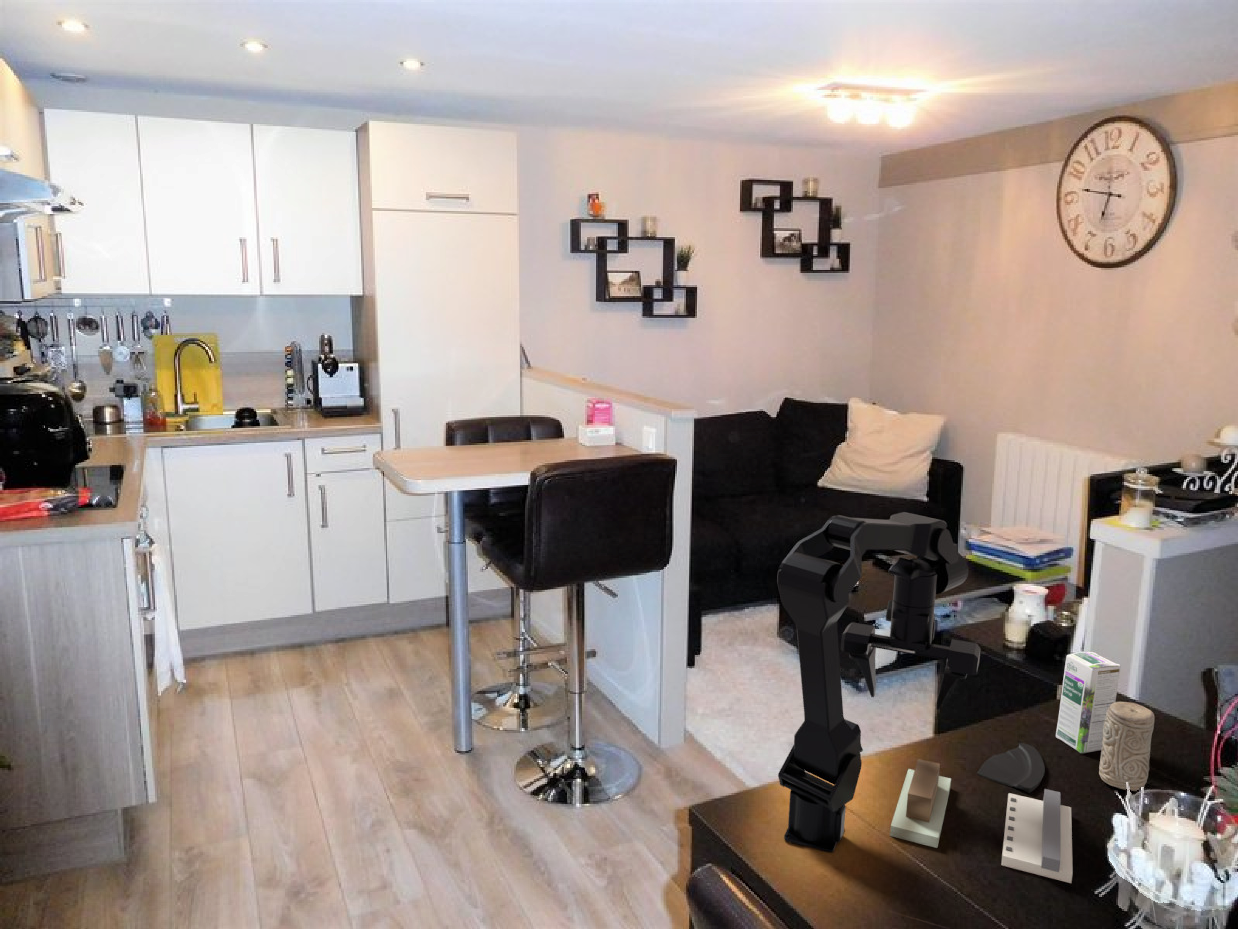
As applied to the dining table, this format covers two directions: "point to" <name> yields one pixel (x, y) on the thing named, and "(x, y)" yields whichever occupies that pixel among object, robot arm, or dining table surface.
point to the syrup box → (1086, 700)
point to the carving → (1126, 745)
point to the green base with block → (921, 805)
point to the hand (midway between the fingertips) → (905, 702)
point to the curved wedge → (1015, 768)
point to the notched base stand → (1038, 836)
